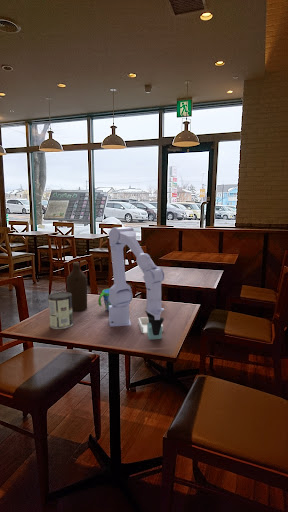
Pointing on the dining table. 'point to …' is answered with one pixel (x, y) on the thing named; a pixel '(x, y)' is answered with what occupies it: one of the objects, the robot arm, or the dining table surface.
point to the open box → (144, 324)
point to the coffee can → (60, 310)
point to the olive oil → (77, 288)
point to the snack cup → (105, 298)
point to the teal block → (150, 332)
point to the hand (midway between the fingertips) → (154, 331)
